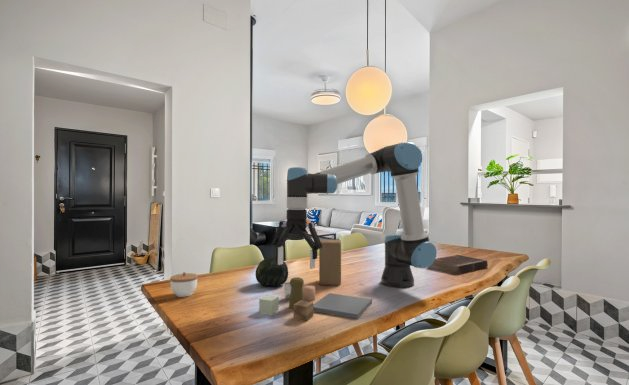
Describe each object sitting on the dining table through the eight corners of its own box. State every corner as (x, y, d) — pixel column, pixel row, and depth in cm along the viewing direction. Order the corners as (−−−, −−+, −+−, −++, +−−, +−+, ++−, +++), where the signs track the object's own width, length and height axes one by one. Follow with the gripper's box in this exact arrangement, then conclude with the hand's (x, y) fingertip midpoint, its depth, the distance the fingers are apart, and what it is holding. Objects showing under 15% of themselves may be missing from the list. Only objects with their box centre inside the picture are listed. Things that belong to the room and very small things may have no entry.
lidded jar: (191, 289, 145) (191, 268, 145) (202, 294, 138) (202, 272, 138) (166, 294, 138) (166, 272, 138) (176, 300, 130) (176, 276, 130)
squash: (251, 270, 159) (257, 250, 150) (281, 268, 165) (288, 249, 156) (256, 295, 149) (262, 276, 140) (287, 293, 155) (295, 274, 146)
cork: (288, 304, 125) (288, 276, 125) (304, 304, 125) (304, 275, 126) (288, 310, 119) (288, 280, 119) (305, 310, 119) (305, 279, 120)
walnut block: (313, 316, 113) (313, 302, 113) (306, 321, 109) (306, 306, 109) (300, 314, 115) (300, 300, 115) (293, 319, 111) (293, 304, 111)
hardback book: (457, 275, 172) (457, 266, 172) (427, 268, 188) (427, 260, 188) (487, 268, 188) (487, 260, 188) (457, 262, 204) (457, 254, 204)
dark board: (372, 303, 127) (372, 299, 127) (357, 318, 111) (357, 314, 111) (329, 296, 135) (329, 293, 135) (310, 310, 119) (310, 306, 119)
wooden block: (341, 280, 161) (341, 239, 161) (340, 285, 151) (340, 242, 151) (320, 279, 162) (320, 239, 162) (319, 285, 152) (319, 242, 152)
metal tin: (299, 297, 134) (299, 283, 134) (293, 301, 129) (293, 286, 129) (288, 296, 136) (288, 281, 136) (282, 299, 131) (282, 284, 131)
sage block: (278, 310, 119) (278, 296, 119) (271, 315, 115) (271, 300, 115) (267, 308, 121) (267, 294, 121) (259, 312, 117) (259, 298, 117)
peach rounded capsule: (317, 298, 132) (317, 286, 132) (311, 302, 128) (311, 289, 128) (306, 297, 135) (306, 284, 135) (300, 300, 130) (300, 288, 130)
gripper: (331, 209, 120) (330, 267, 120) (273, 207, 131) (273, 260, 131) (323, 210, 114) (322, 271, 113) (263, 208, 124) (262, 264, 124)
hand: (296, 266), depth 122 cm, fingers open, 13 cm apart
